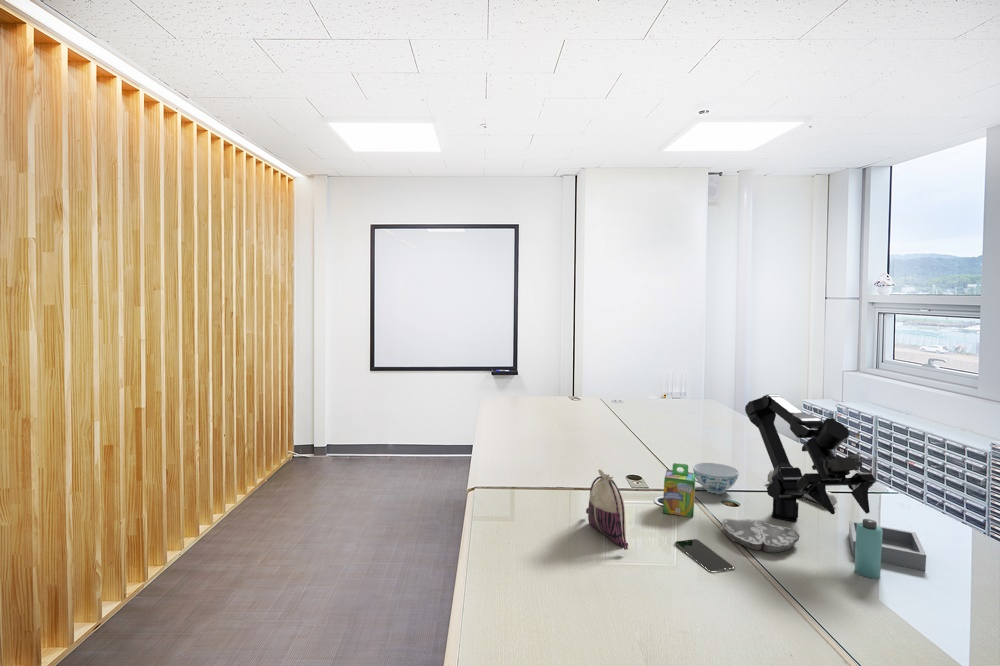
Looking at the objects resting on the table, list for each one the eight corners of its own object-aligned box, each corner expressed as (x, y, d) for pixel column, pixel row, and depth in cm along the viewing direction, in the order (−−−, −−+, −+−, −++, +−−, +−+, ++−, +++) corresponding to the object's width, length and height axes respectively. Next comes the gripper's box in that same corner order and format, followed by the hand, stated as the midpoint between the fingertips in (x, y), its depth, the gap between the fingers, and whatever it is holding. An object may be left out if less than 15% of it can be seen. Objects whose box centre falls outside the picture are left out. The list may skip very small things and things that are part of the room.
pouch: (571, 520, 159) (572, 458, 158) (594, 516, 162) (595, 455, 161) (619, 557, 136) (621, 485, 135) (645, 551, 139) (647, 481, 138)
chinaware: (698, 480, 195) (699, 460, 195) (742, 489, 187) (743, 467, 186) (686, 492, 183) (687, 470, 183) (732, 501, 174) (733, 479, 174)
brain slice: (723, 550, 141) (723, 539, 141) (720, 525, 157) (720, 515, 156) (806, 563, 134) (807, 551, 134) (794, 535, 150) (794, 525, 150)
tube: (842, 496, 170) (780, 471, 194) (830, 492, 169) (769, 468, 192) (837, 511, 170) (776, 485, 194) (825, 508, 168) (765, 482, 192)
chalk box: (662, 513, 164) (663, 467, 164) (665, 503, 173) (666, 459, 172) (694, 518, 161) (695, 470, 160) (694, 507, 169) (696, 462, 169)
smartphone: (710, 571, 128) (673, 541, 144) (710, 575, 128) (673, 545, 144) (736, 567, 130) (697, 538, 145) (736, 572, 130) (697, 542, 145)
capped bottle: (855, 574, 128) (857, 522, 127) (853, 565, 132) (856, 515, 131) (881, 580, 125) (884, 527, 124) (879, 571, 130) (881, 519, 129)
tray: (852, 555, 137) (853, 540, 137) (848, 534, 150) (849, 520, 150) (925, 571, 130) (926, 555, 130) (914, 546, 143) (915, 532, 142)
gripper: (804, 443, 138) (832, 500, 128) (872, 442, 139) (905, 499, 129) (785, 464, 146) (809, 518, 136) (849, 463, 147) (878, 517, 137)
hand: (850, 513), depth 134 cm, fingers open, 9 cm apart
